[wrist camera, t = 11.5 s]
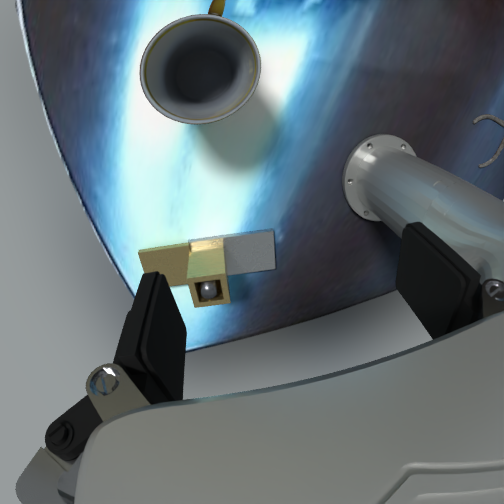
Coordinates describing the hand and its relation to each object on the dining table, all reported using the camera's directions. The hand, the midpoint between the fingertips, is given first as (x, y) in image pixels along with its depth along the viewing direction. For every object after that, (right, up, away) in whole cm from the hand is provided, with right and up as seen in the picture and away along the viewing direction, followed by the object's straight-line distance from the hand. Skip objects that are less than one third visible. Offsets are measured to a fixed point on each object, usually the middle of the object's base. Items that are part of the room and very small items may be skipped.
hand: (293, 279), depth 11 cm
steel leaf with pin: (-4, +1, +30) cm, 30 cm away
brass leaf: (-11, 0, +29) cm, 31 cm away
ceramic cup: (-7, +22, +17) cm, 29 cm away
